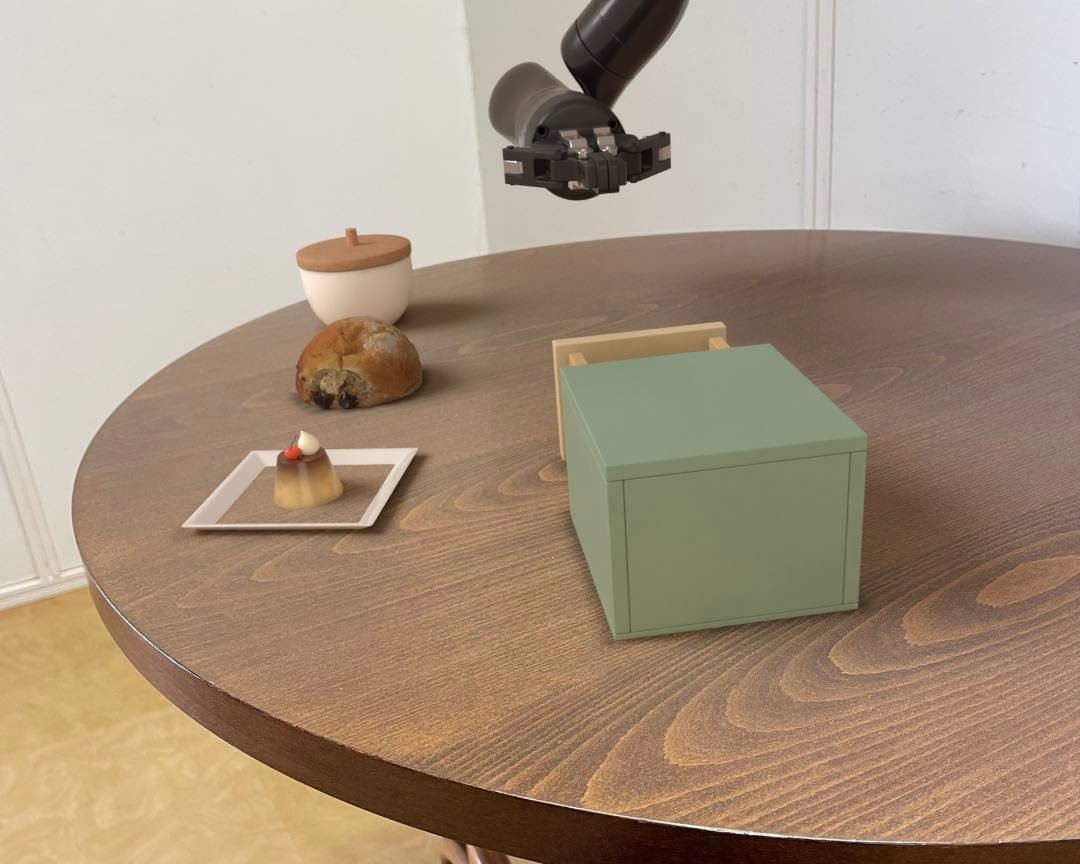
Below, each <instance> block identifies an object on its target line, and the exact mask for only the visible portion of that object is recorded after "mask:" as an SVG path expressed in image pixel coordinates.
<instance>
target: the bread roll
mask: <svg viewBox="0 0 1080 864" xmlns="http://www.w3.org/2000/svg"><path fill="white" fill-rule="evenodd" d="M295 368H296V374H295V390H296V392H297V394H298V396H299V398H300V400H302V401H303V402H304V404H306V405H310V406H312V407H317V408H322V409H344V410H347V409H352V408H366V407H368V408H369V407H371V406H377V405H378V406H379V405H381V404H384V403H390V402H393V401H397V400H400V399H402V398H404V397H407V396H409V395H412V394H413V393H414V392H415V391H417V390H418V389H419V388H420V387H421V385H422V384H423V369H422V368H423V367H422V363H421V360H420V355H419V352H418V350H417V349H416V346H415V344H414V343H413V342H411V340H409V338H408V336H406V334H404V333H403V332H402V330H400V329H398V328H397V327H396V326H395V325H394V324H392V325H391V324H390V323H388V322H386V321H383V320H380V319H377V318H373V317H366V316H357V317H347V318H344V319H340V320H337V321H335V322H333V323H331V324H330V325H326V326H325V327H324V328H322V329H321V330H320V331H318V332H317V333H316V334H315V335H314V337H313V338H312V339H311V340H310V341H309V342H308V343H307V344H306V346H305V347H304V349H302V351H301V354H300V356H299V357H298V360H297V364H295Z"/></svg>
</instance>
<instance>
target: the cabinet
mask: <svg viewBox="0 0 1080 864" xmlns="http://www.w3.org/2000/svg"><path fill="white" fill-rule="evenodd" d="M560 378H561V391H562V405H563V419H564V433H565V447H566V475H567V487H568V488H567V489H568V501H569V515H570V517H571V520H572V523H573V526H574V529H575V532H576V534H577V537H578V538H577V539H578V540H579V543H580V546H581V550H582V551H583V554H584V557H585V560H586V564H587V567H588V569H589V572H590V574H591V577H592V580H593V584H594V586H595V589H596V591H597V595H598V597H599V600H600V604H601V606H602V609H603V612H604V615H605V618H606V620H607V623H608V626H609V628H610V629H609V630H610V632H611V635H612V638H613V640H614V641H623V640H631V639H639V638H645V637H653V636H661V635H667V634H669V635H670V634H677V633H685V632H692V631H699V630H707V629H712V628H721V627H729V626H736V625H743V624H744V625H745V624H750V623H751V624H753V623H759V622H766V621H775V620H781V619H782V620H783V619H789V618H797V617H804V616H811V615H812V616H813V615H819V614H827V613H828V614H829V613H834V612H842V611H851V610H857V609H859V599H860V597H859V596H860V581H861V563H862V545H863V531H864V530H863V528H864V511H865V493H866V475H867V461H868V451H867V450H868V443H869V434H868V433H867V432H866V431H865V430H864V429H862V428H861V426H859V424H857V423H856V422H855V421H854V420H853V419H852V418H851V417H850V416H849V415H847V414H846V413H845V411H843V409H841V408H840V407H839V406H838V405H837V404H835V403H834V401H833V400H831V399H830V398H829V397H828V396H827V395H826V394H825V393H824V392H823V390H821V389H820V388H818V387H817V385H815V384H814V382H812V381H811V380H810V379H809V378H808V377H807V376H806V375H804V373H803V372H802V371H801V370H800V369H798V368H797V367H796V366H795V365H794V364H793V363H792V362H790V360H789V359H787V358H786V357H785V356H784V355H783V354H782V353H781V352H780V351H779V350H778V349H777V348H776V347H775V346H773V344H771V343H769V342H768V343H759V344H753V345H751V344H750V345H744V346H743V345H742V346H735V347H731V348H725V349H716V350H707V351H698V352H689V353H681V354H672V355H663V356H654V357H645V358H636V359H628V360H619V361H610V362H601V363H592V364H583V365H574V366H566V367H560Z"/></svg>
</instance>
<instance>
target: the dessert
mask: <svg viewBox="0 0 1080 864" xmlns="http://www.w3.org/2000/svg"><path fill="white" fill-rule="evenodd" d="M297 437H298V435H297V434H296V435H295V437H294V439H293V441H292V442H291V444H290V447H289V446H288V447H286V448H285V449H270V450H267V449H266V450H265V449H264V450H251V451H250V452H249V453H248V454H247V455H246V457H244V458H243V460H242V461H241V462H240V463H239V464H238V465H237V466H236V467H235V468H234V469H233V470H232V471H231V473H230V474H229V475H227V477H226V478H225V479H224V480H223V481H222V482H221V483H220V484H219V485H218V486H217V487H216V488H215V490H214V491H212V493H211V494H210V495H209V496H208V497H207V498H206V499H205V500H204V501H203V502H202V503H201V504H200V506H199V507H198V508H196V510H195V511H194V512H193V513H192V514H191V515H190V516H189V517H188V518H187V519H186V520H185V522H184V523H183V524H182V525H181V528H184V529H190V530H191V529H193V530H199V531H258V530H259V531H263V530H264V531H265V530H266V531H267V530H268V531H269V530H270V531H271V530H280V531H281V530H283V531H284V530H287V531H288V530H362V529H366V528H369V527H372V526H373V525H374V524H375V522H376V520H377V518H378V517H379V516H380V513H381V512H382V511H383V508H384V507H385V505H386V503H387V502H388V501H389V499H390V497H391V495H392V494H393V492H394V490H395V488H396V487H397V485H398V483H399V482H400V480H401V479H402V477H403V475H404V473H405V472H406V471H407V469H408V467H409V465H410V463H411V462H412V460H413V459H414V457H415V455H416V453H417V452H418V450H419V447H379V448H378V447H377V448H376V447H375V448H374V447H373V448H329V449H327V448H326V449H325V448H324V447H323V446H321V445H320V441H319V439H318V438H317V437H316V436H315V435H313V434H311V433H309V432H307V431H304V430H300V435H299V438H298V441H297V445H293V443H294V442H295V441H296V438H297ZM352 465H353V466H355V465H356V466H360V465H361V466H362V465H363V466H364V465H394V466H393V467H392V469H391V471H390V472H389V474H388V476H387V477H386V479H384V481H383V484H382V485H381V486H380V488H379V489H378V491H377V493H376V494H375V496H374V498H373V499H372V501H371V502H370V504H369V506H368V507H367V509H366V510H365V512H364V513H363V515H362V517H361V519H360V520H359V522H293V523H292V522H291V523H290V522H287V523H284V522H283V523H279V522H278V523H275V522H274V523H218V521H220V519H221V518H222V517H223V516H224V515H225V514H226V512H228V510H229V509H230V508H231V506H232V505H233V504H234V503H235V502H236V501H237V500H238V498H239V497H240V496H241V495H242V494H243V492H245V491H246V489H247V488H248V487H249V486H250V485H251V484H252V482H253V481H254V480H255V479H257V477H258V476H259V474H261V472H262V471H263V470H264V469H265V468H267V467H275V474H274V475H275V476H274V486H273V494H272V502H273V503H274V504H275V505H276V506H278V507H281V508H283V509H288V510H289V509H290V510H292V509H293V510H300V509H302V510H303V509H310V508H311V509H312V508H316V507H319V506H323V505H326V504H328V503H331V502H333V501H335V500H337V499H338V498H339V497H341V496H342V495H343V493H344V491H345V487H344V486H343V483H342V481H341V479H340V477H339V476H338V474H337V472H336V471H337V470H336V469H335V467H334V466H352Z"/></svg>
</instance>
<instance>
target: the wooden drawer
mask: <svg viewBox="0 0 1080 864" xmlns="http://www.w3.org/2000/svg"><path fill="white" fill-rule="evenodd" d="M551 345H552V357H553V358H552V359H553V371H554V373H553V374H554V384H555V397H556V398H555V399H556V411H557V426H558V441H559V452H560V456H561V459H562V461H563V462H565V461H566V447H565V433H564V419H563V405H562V391H561V378H560V367H566V366H574V365H583V364H592V363H601V362H610V361H619V360H628V359H636V358H645V357H654V356H663V355H672V354H681V353H689V352H698V351H707V350H716V349H725V348H732V346H731V345H730V344H728V342H727V325H726V324H725V323H723V321H716V322H715V321H714V322H713V321H712V322H705V323H695V324H686V325H677V326H669V327H659V328H651V329H642V330H633V331H625V332H615V333H604V334H598V335H596V334H595V335H588V336H579V337H570V338H569V337H568V338H560V339H553V340H552V341H551ZM566 462H567V461H566Z"/></svg>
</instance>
